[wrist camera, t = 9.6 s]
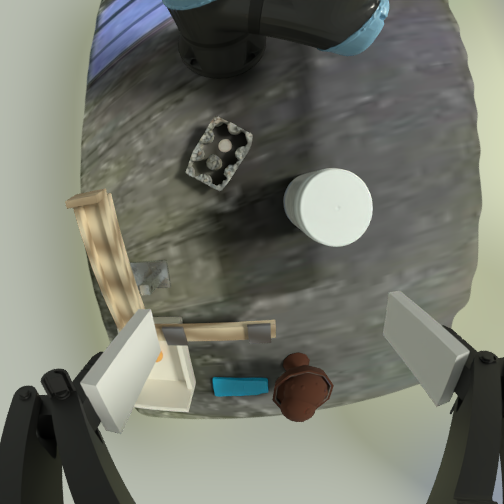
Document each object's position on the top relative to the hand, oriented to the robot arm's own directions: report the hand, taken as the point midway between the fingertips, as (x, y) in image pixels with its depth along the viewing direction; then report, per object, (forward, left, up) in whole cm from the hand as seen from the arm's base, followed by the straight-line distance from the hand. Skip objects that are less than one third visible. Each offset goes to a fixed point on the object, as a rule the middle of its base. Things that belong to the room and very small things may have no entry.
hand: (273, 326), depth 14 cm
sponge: (+34, -6, -33) cm, 48 cm away
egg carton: (-12, -5, -33) cm, 36 cm away
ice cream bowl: (+28, +6, -33) cm, 44 cm away
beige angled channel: (+4, -11, -24) cm, 27 cm away
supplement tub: (-4, +9, -33) cm, 34 cm away
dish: (+24, -22, -33) cm, 46 cm away
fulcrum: (+7, -22, -33) cm, 40 cm away
